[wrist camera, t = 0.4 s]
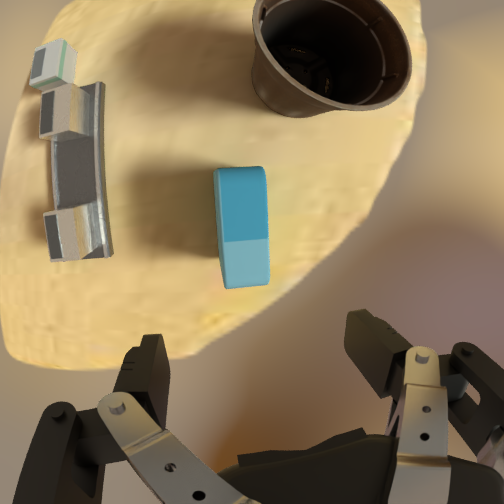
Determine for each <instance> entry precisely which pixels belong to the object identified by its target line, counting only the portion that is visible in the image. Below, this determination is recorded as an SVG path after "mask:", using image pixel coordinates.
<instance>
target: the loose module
mask: <svg viewBox="0 0 504 504" xmlns="http://www.w3.org/2000/svg"><path fill="white" fill-rule="evenodd" d="M77 53H78V52H77V51H76V50H74V49H73V48H72V47H71V46H70V45H69V44H68V43H67V42H66V41H65V40H64V39H62V38H60V39H57V40H54V41H52V42H49V43H47V44H44V45H42V46H39V47H37V48H35V53H34V58H33V63H32V69H31V75H30V82H29V85H30V86H31V87H33V88H36V89H39V90H41V91H43V92H44V91H47V90H50V89H53V88H56V87H59V86H62V85H65V84H69V83H73V84H74V77H75V68H76V60H77Z"/></svg>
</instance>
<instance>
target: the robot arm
mask: <svg viewBox="0 0 504 504" xmlns="http://www.w3.org/2000/svg"><path fill="white" fill-rule="evenodd" d="M344 347H345V351H346V353H347V355H348V356H349V357H350V359H351V360H352V361H353V362H354V364H355V365H356V366H357V368H358V369H359V370H360V372H361V373H362V374H363V376H364V377H365V379H366V380H367V381H368V383H369V384H370V385H371V387H372V388H373V389H374V391H375V392H376V393H377V395H378V396H379V397H380V398H381V399H382V398H385V397H387V396H390V395H391V396H392V397H393V398H392V401H391V405H390V410H389V415H388V420H387V425H386V430H385V434H384V435H379V434H371V435H370V434H369V435H366V433H365V431H364V430H363V428H359V429H355V430H352V431H349V432H346V433H343V434H339V435H336V436H333V437H331V438H329V439H327V440H326V441H324V442H322V443H320V444H318V445H316V446H314V447H311V448H309V449H307V450H300V451H299V450H296V451H295V450H294V451H278V450H270V451H263V452H257V453H250V454H242V455H237V456H238V464H235V465H232V466H230V467H228V468H225V469H223V470H222V471H220V472H218V473H217V474H216V473H215V472H213V471H212V470H211V469H210V468H209V467H208V466H206V465H205V464H204V463H203V462H202V461H201V460H200V459H199V458H197V457H196V456H195V455H194V454H193V453H192V452H191V451H190V450H189V449H188V448H187V447H186V446H185V445H183V444H182V443H181V442H180V441H179V440H178V439H177V438H176V437H175V436H174V435H173V434H172V433H171V432H170V431H169V430H168V429H165V427H166V415H167V405H168V394H169V384H170V366H169V361H168V357H167V353H166V349H165V344H164V340H163V336H162V334H148V335H143V338H142V341H141V344H140V347H132V348H131V349H130V350H129V351H128V352H127V353H126V355H125V357H124V360H123V364H122V366H121V370H120V372H119V375H118V377H117V380H116V383H115V386H114V389H113V392H112V393H110V394H108V395H106V396H105V397H103V398H102V399H101V400H100V401H99V403H98V406H97V408H94V409H89V410H83V411H76V409H75V408H74V406H73V405H72V404H70V403H68V402H56V403H53V404H51V405H49V406H48V407H47V408H46V409H45V410H44V412H43V414H42V417H41V419H40V421H39V424H38V426H37V429H36V431H35V434H34V436H33V439H32V442H31V444H30V447H29V450H28V453H27V456H26V459H25V461H24V464H23V468H22V471H21V474H20V477H19V481H18V484H17V488H16V491H15V495H14V499H13V503H12V504H101V501H102V491H103V482H104V473H105V466H106V464H108V463H113V462H119V461H124V460H127V461H128V463H129V464H130V465H131V467H132V468H133V469H134V471H135V472H136V473H137V475H138V476H139V477H140V478H141V480H142V481H143V482H144V483H145V485H146V486H147V487H148V488H149V489H150V490H151V492H152V493H153V494H154V495H155V496H156V498H157V499H158V500H159V501H160V503H161V504H504V369H502V368H501V367H500V366H499V365H498V364H497V363H495V362H494V361H493V360H492V359H491V358H490V357H489V356H487V355H486V354H485V353H484V352H483V351H481V350H480V349H479V348H478V347H477V346H475V345H474V344H471V343H467V342H459V343H456V344H455V345H454V346H453V349H452V352H451V354H447V355H437V353H436V352H435V351H434V350H432V349H430V348H428V347H423V346H416V347H413V346H412V345H411V344H410V343H409V342H408V341H407V340H406V339H405V338H404V337H402V336H401V335H400V334H399V333H397V331H396V330H394V328H392V327H391V326H390V325H389V324H388V323H387V322H386V321H384V320H382V319H379V318H377V317H374V316H373V315H372V314H371V313H370V312H368V311H367V310H366V309H360V310H355V311H350V312H349V313H348V315H347V320H346V329H345V337H344ZM469 383H470V384H471V385H472V386H473V387H474V388H475V389H476V390H477V391H478V392H479V394H480V398H481V399H480V403H479V405H477V404H476V403H475V402H474V401H473V400H472V398H471V397H470V396H469V395H468V394H467V393H466V392H465V390H466V388H467V386H468V384H469ZM448 420H449V421H450V423H451V424H452V425H453V427H454V428H455V429H456V430H457V432H458V433H459V434H460V435H461V437H462V438H463V440H464V441H465V442H466V444H467V445H468V446H469V448H470V449H471V450H472V452H473V453H474V454H475V456H476V457H477V463H475V462H471V461H467V460H464V459H460V458H456V457H453V456H450V455H447V452H448Z"/></svg>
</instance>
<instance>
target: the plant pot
mask: <svg viewBox="0 0 504 504" xmlns="http://www.w3.org/2000/svg"><path fill="white" fill-rule="evenodd" d="M252 22H253V30H254V34H255V44H256V51H255V57H254V63H253V67H252V82H253V86H254V89H255V91H256V93H257V95H258V96H259V97H260V98H261V99H262V100H263V101H264V103H265V104H266V105H267V106H268V107H269V108H271V109H272V110H274V111H275V112H277V113H280V114H282V115H285V116H289V117H294V118H307V117H312V116H315V115H318V114H321V113H325V112H329V111H333V110H350V111H368V110H375V109H379V108H382V107H385V106H387V105H389V104H391V103H392V102H394V101H395V100H397V99H398V98H399V97H400V96H401V95H402V93H403V92H404V91H405V89H406V87H407V85H408V83H409V81H410V77H411V73H412V56H411V51H410V46H409V43H408V40H407V37H406V35H405V33H404V31H403V29H402V27H401V25H400V24H399V22H398V21H397V19H396V17H395V16H394V15H393V14H392V12H391V11H390V10H389V9H388V8H387V7H386V6H385V5H384V4H383V3H382V2H381V1H380V0H256V3H255V6H254V10H253V17H252ZM289 48H296V49H300V50H303V51H305V52H306V53H301V52H298V51H290V50H289ZM287 66H290V67H291V68H290V70H288V69H286V67H287ZM304 70H307V71H308V72H307V73H304V72H303V71H304ZM325 78H328V79H329V89H328V92H327V93H326V92H325V83H326V81H325ZM303 85H305V86H306V87H304V86H303Z"/></svg>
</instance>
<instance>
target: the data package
mask: <svg viewBox="0 0 504 504" xmlns="http://www.w3.org/2000/svg"><path fill="white" fill-rule="evenodd" d="M213 179H214V196H215V210H216V224H217V237H218V250H219V260H220V266H221V271H222V277H223V282H224V287H225V288H226V289H232V288H242V287H252V286H261V285H267V284H268V283H269V281H270V260H269V232H268V207H267V184H266V175H265V171H264V169H263V167H261V166H253V167H233V168H218V169H216V170H215V171H214V172H213Z"/></svg>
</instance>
